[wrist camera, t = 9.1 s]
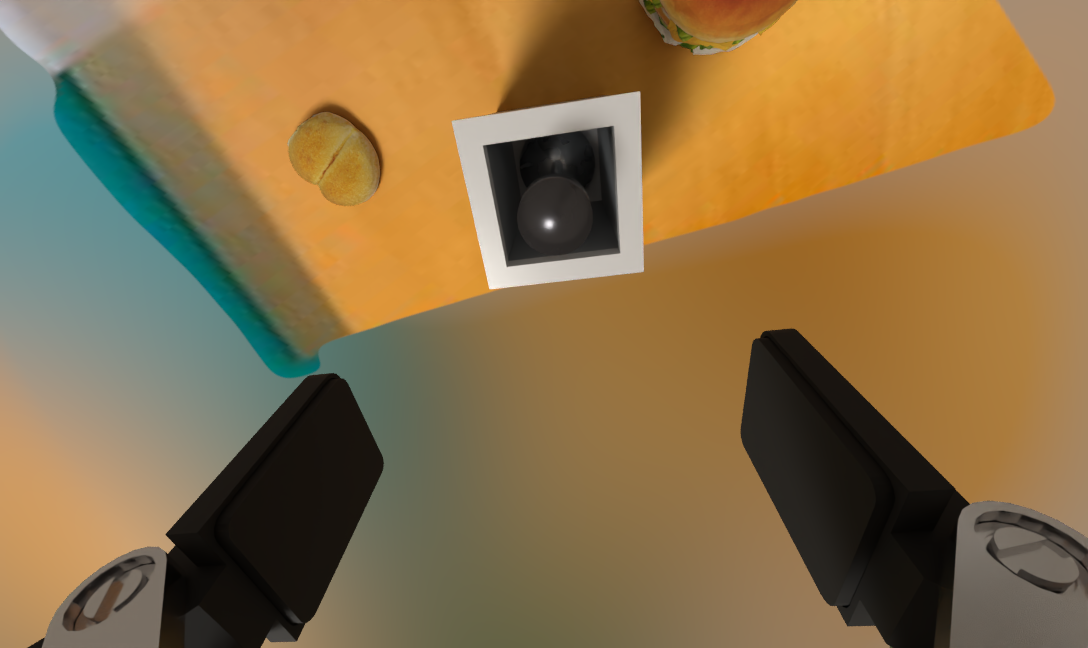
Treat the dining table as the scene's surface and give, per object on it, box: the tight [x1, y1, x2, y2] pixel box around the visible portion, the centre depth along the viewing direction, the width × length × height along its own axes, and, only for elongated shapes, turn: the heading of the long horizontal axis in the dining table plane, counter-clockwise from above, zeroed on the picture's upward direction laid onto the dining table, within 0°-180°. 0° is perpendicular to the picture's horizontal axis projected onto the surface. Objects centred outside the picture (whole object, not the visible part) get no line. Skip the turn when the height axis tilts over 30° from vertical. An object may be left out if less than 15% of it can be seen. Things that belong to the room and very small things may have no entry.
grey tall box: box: [452, 91, 644, 289], centre depth 35 cm, size 11×11×18 cm
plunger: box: [517, 131, 595, 256], centre depth 32 cm, size 8×8×21 cm
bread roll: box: [288, 112, 380, 206], centre depth 42 cm, size 8×9×4 cm
